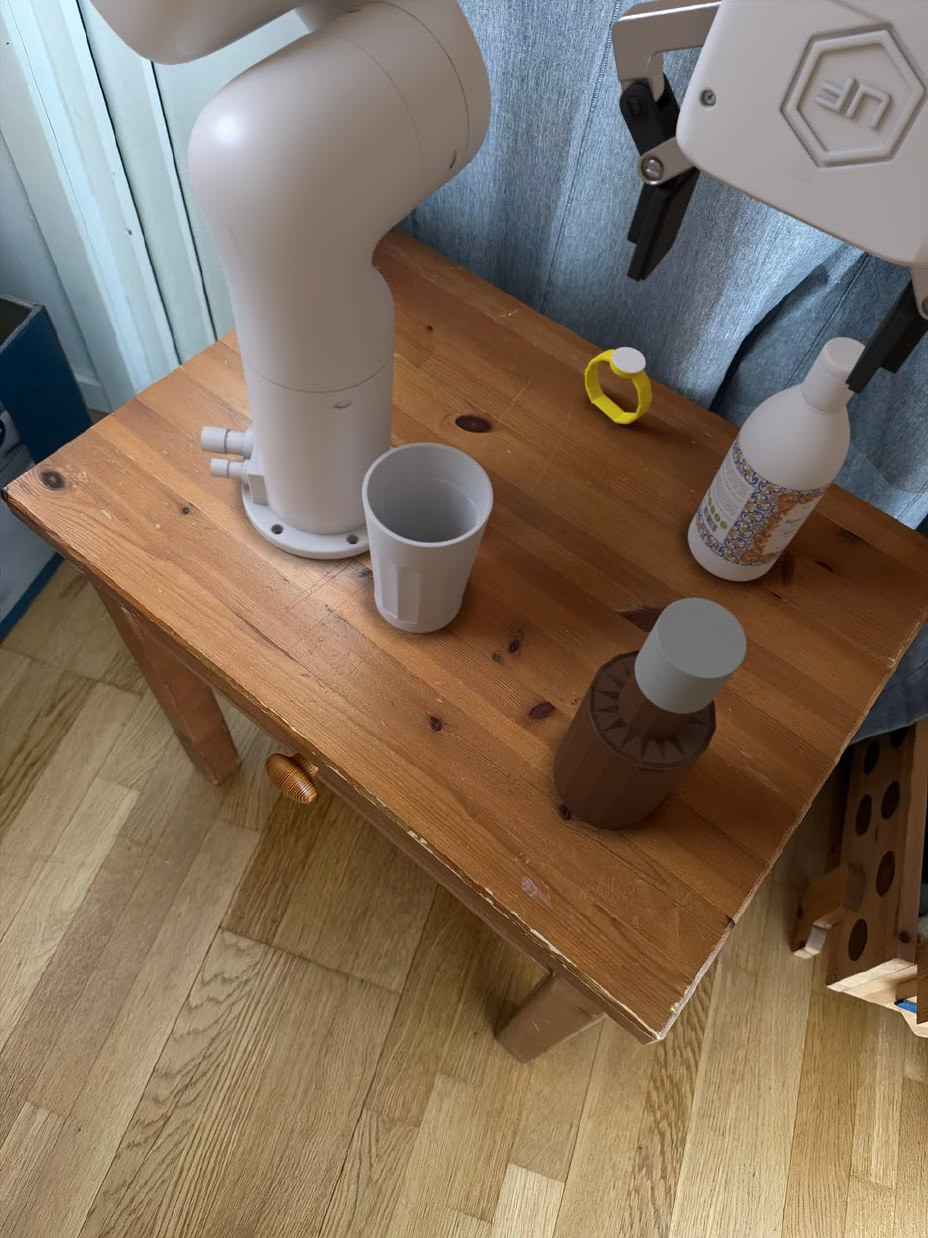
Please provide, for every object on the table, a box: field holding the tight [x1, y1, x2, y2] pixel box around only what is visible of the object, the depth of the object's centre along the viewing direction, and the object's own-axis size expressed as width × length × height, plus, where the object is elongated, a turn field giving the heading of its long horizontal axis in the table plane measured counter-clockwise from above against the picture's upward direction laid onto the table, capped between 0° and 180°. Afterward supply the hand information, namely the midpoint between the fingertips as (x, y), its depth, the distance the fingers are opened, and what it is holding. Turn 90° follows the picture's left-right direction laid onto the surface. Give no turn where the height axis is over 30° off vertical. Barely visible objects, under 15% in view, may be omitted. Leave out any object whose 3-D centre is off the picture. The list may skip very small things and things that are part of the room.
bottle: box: [552, 649, 717, 830], centre depth 53 cm, size 7×7×15 cm
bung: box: [635, 597, 748, 714], centre depth 45 cm, size 4×4×6 cm
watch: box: [584, 346, 653, 425], centre depth 73 cm, size 6×3×6 cm, turn 44°
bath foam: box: [687, 336, 866, 582], centre depth 61 cm, size 7×7×20 cm
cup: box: [362, 441, 494, 634], centre depth 60 cm, size 8×8×12 cm
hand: (753, 315), depth 36 cm, fingers open, 9 cm apart
